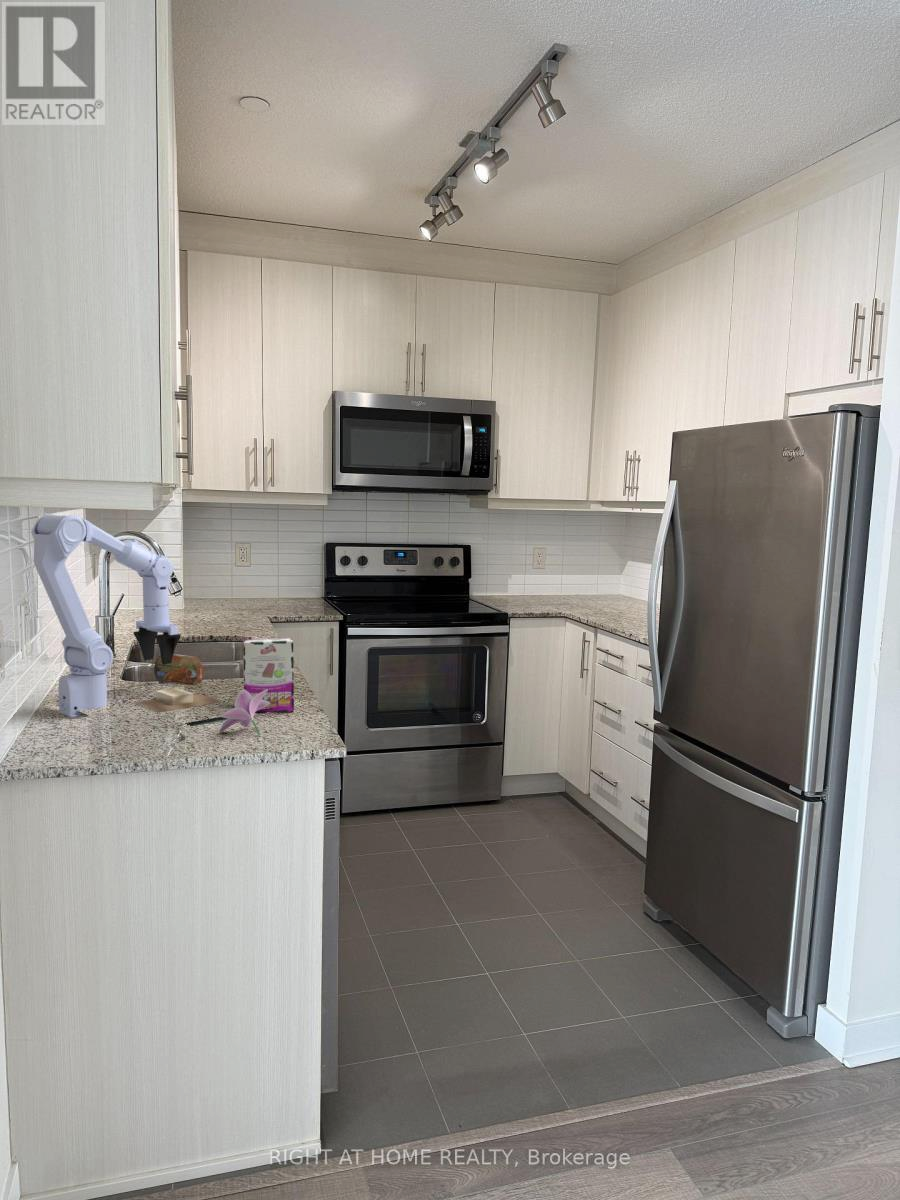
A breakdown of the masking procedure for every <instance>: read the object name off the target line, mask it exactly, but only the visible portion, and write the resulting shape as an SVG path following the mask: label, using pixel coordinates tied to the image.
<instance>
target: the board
mask: <svg viewBox="0 0 900 1200" xmlns="http://www.w3.org/2000/svg"><path fill="white" fill-rule="evenodd" d="M224 702H225V701H223V700H221V699H217V698H214V697H211V696H208V695H206V694H202V693H198V692H196V693H195V692H194V693H193V702H190V703H184V704H178V705H171V704H168V703H165V702H162V701H159V700H156V698H155V699H149V700H142V701H137V702H133V704H134V705H137V706H139V707H142V708H146V709H148V710H151V711H154V712H156V713H163V712H170V711H171V712H172V711H175V710H183V709H188V708H195V707H200V706H201V707H202V706H207V705H212V704H219V703H224Z"/></svg>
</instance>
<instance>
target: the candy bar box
mask: <svg viewBox="0 0 900 1200" xmlns="http://www.w3.org/2000/svg"><path fill="white" fill-rule="evenodd" d="M242 655H243V657H242V660H243V662H242V663H243V665H242V667H243V669H242V670H243V689H244V690H246V691H247V692H249V693H250V694H251V696H252V697H255V696H256V695H257V694H259V693H260V692H262V691H264V690H266V689H268V691H267V692H266V694H265V695H264V696H263V698H262V699H261V700H265V701H268V702H270V704H269V705H268V706H266V707H265V708H262V709H260V710H258V711H256V712H255V713H258V714H268V713H267V712H278V713H292V712H291V711H293V712H294V711H295V685H294V683H295V681H294V679H295V678H294V675H295V674H294V667H295V666H294V663H295V662H294V639H292V638H291V637H290V638H288V637H287V638H261V639H260V638H259V639H255V638H254V639H243V640H242Z"/></svg>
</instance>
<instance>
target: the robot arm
mask: <svg viewBox="0 0 900 1200" xmlns="http://www.w3.org/2000/svg"><path fill="white" fill-rule="evenodd" d="M30 533H31V535H32V537H33V540H34V541H33V542H34V543H33V563H34V568H35V569H36V571H37V573H38V576H39V578H40V580H41V582H42V585H43V587H44V589H45V591H46V595H47V596H48V598H49V601H50V603H51V605H52V608H53V610H54V612H55V614H56V617H57V619H58V621H59V624H60V627H61V629H62V630H63V633H64V635H65V637H64V638H63V639H62V641H61V645H62V646H63V659H64V662H65V663H66V665H67V666H68V667H69V671H70V673H68V674H67V675H62V676H60V678H59V679H58V710H57V712H58V713H60V714H63V716H66V717H69V718H73V719H75V718H81V717H87V716H89V714H87V713H84V712H83V710H92V709H100V708H103V707H106V706H107V705H108V681H107V680H108V677H107V676H108V675H107V673H108V672H109V671H108V669H109V668H110V667H111V666H112V664H113V661H114V652H113V650H112V649H111V647H110V646H108V645H107V644H106V643H105V641H104V639H103V637H102V636H101V635H100V634H99V633H98V632H97V631H96V630H94V629H93V627H92V625H91V623H90V620H89V619H88V616H87V614H86V612H85V609H84V606H83V604H82V602H81V599H80V597H79V595H78V593H77V590H76V588H75V585H74V583H73V580H72V578H71V576H70V573H69V571H68V569H67V567H66V561H67V560H68V557H69V556H70V555H71V554H72V553H73V552H74V551H75V550H76V548H78V546H79V545H80V544H81V543H82V542H86V543H89V544H90V545H93V546H95V547H97V548H98V549H102V550H104V551H106V552H108V553H111V554H113V555H114V556H113V557H114V559H115V561H116V562H117V563H119V564H121V565H123V566H125V567H126V568H128V569H130V570H132V571H135V572H136V573H137V575H138V576H139V577H140V578H142V599H143V600H142V603H143V605H142V608H143V620H136V621H135V627H136V630H137V631H136V630H135V631H133V635H134V637H135V639H136V640H137V642H138V644H139V647H140V650H141V654H142V657H143V660H144V661H150V660H154V657H155V645H156V641H157V644H158V647H159V653H160V656H161V661H162V664H170V663H172V659H173V654H175V650H176V647H177V644H178V643H179V641H180V639H181V633H179V626H178V625H175V624H174V622H173V621H170V603H169V600H170V599H169V598H170V597H169V585H170V584H171V583H170V579H171V577H172V575H173V573H174V566H173V565H172V562H171V561H170V560H169V558H168V557H167V556H165V555H162V554H160V555H159V554H156V553H155V550H154V549H151V548H146V547H144V546H142V545H141V544H140V543H139V540H136V539H132V538H131V539H124V540H122V541H121V540H120V539H118V538H116V537H115V536H113V535H111V534H110V533H108V532H107V531H104V530H103V529H102V528H100V527H98V526H96V525H94V524H93V523H91V522H90V521H89V520H86V519H83V518H81V517H79V516H78V515H75V514H74V515H73V514H69V515H68V514H67V515H58V514H57V515H55V514H49V513H48V514H43V515H42V516H40V517H39V518H38V519H37V520H36V522H35V523H34V526H33V527H32V529H31V531H30ZM158 633H160V634H158ZM161 633H162V634H161ZM81 711H82V712H81Z"/></svg>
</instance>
